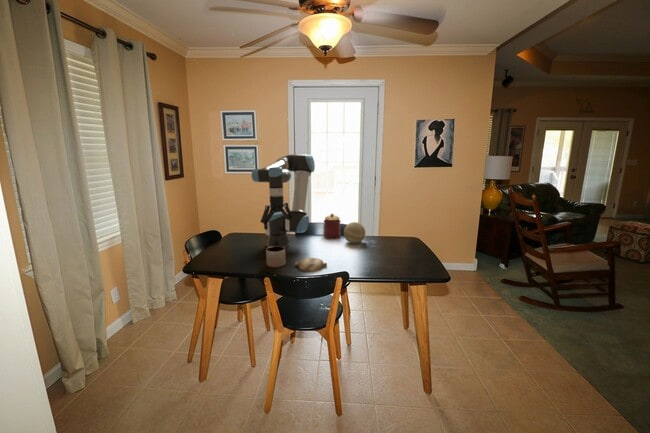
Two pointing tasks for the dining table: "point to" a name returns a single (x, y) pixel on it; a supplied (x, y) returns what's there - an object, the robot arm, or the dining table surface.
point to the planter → (275, 256)
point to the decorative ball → (354, 232)
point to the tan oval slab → (310, 264)
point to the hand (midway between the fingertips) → (277, 232)
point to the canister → (332, 226)
